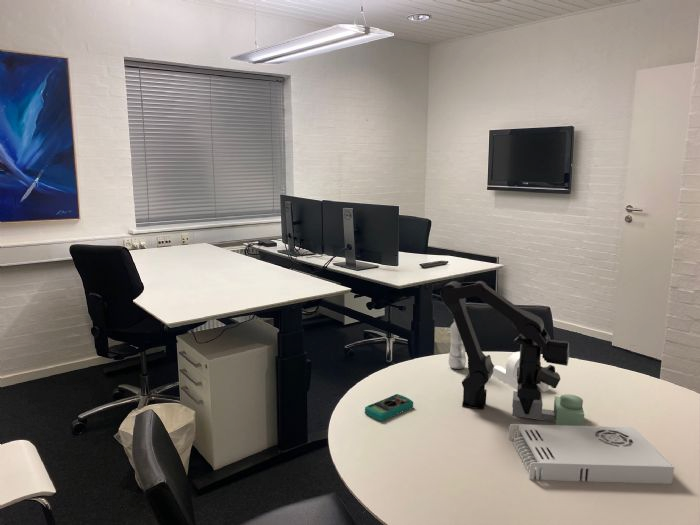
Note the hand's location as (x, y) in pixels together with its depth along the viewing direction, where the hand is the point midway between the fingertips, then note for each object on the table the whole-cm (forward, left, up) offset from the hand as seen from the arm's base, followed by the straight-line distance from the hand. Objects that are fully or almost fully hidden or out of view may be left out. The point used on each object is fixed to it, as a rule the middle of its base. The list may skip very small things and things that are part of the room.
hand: (526, 409), depth 152 cm
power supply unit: (+14, -21, -3) cm, 25 cm away
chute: (0, 0, -1) cm, 1 cm away
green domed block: (+6, 0, -2) cm, 6 cm away
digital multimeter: (-39, -9, -3) cm, 41 cm away
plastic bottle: (-23, +32, -2) cm, 40 cm away
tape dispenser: (-1, +25, -2) cm, 25 cm away
